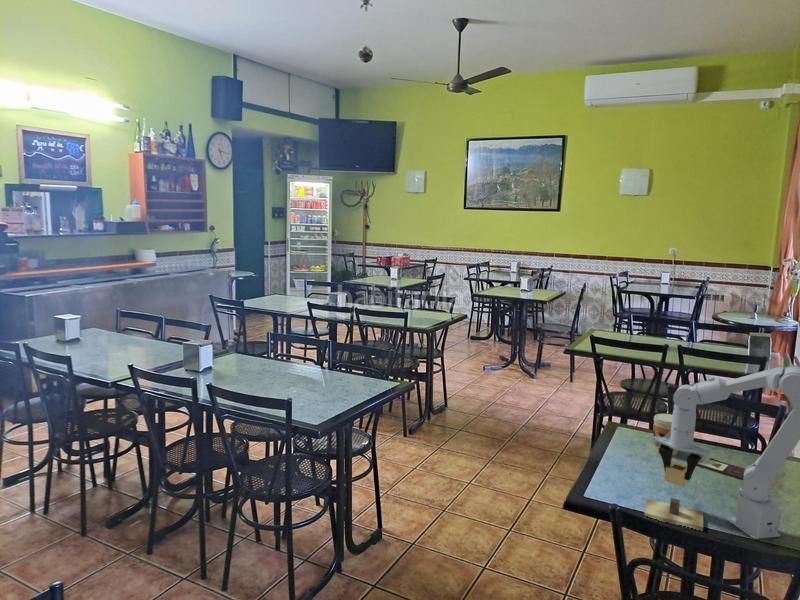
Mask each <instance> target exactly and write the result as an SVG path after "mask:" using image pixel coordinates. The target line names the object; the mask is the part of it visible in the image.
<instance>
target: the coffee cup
mask: <svg viewBox="0 0 800 600" xmlns="http://www.w3.org/2000/svg"><path fill="white" fill-rule="evenodd" d="M672 416H673V414H671V413H657V414H655V415H654V416H653V437H655V436H659V437H664V438H670V436H671V426H672ZM652 445H653V446H652V447H653V451H654V452H656V453H658V454H660V453H659V448H660V445H659V444H657V445H656V444H653V443H652ZM678 453H679V450H675V449H673V453H672V457H673V456H676V455H678Z"/></svg>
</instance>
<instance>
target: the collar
mask: <svg viewBox="0 0 800 600" xmlns="http://www.w3.org/2000/svg"><path fill="white" fill-rule="evenodd" d="M686 473H687V465H683V464H680V463H677V462H673V461H671V464H669V465H668V466H667V467H666V471H665V470H664V474H665V475H664V481H665V482H667V483H671V484H673V485H676V486H678V487H679V486H680V487H681V488H684V487H685V486H687V485H688V483H690V482H691V479H690V480H686Z"/></svg>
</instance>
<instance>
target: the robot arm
mask: <svg viewBox="0 0 800 600" xmlns="http://www.w3.org/2000/svg"><path fill="white" fill-rule="evenodd" d="M760 388H766V389H768V390H771V391H772V392H776V393H778V388H779V389H780V391H781V393H783V395H784V396H785V397H786V398H787V399H788V400H789V402H790V405H791V406H792V410H791V411H790V412H789V414H788V415H787V417H786V418H785V420H784V421H783V423H782V424H781V426H780V428H779V429H778V430H777V432H776V433H775V435H774V436H773V437H772V439H771V440H770V442H769V443H768V445H767V447H766V448H765V449H764V451H763V452H762V454H761V455H760V456H759V457H758V458H757V459H756V461H754V462H753V463H752V464H750V465H748V466H747V467H745V471H744V478H743V480H741V484H740V488H738V495H737V503H736V513H735V517H728V518H726V521H728V522H729V523H730V524H732V525H734V526H735V527H736V528H738V529H739V530H740V531H742V532H744V533H745V534H746V535H748V536H749V537H751V538H752V539H754V540H757V539H758V540H760V539H769V538H776V537H777V538H780V537H781V534H780V533H779V527H780V522H781V516H782V515H781V511H780V508H778V506H776V505H775V504H774V502H773V501H772V495H771V494H770V493H771V486H772V484H773V482H774V480H775V478H776V475H778V472H779V470H780V468H781V467H782V466H783V465H784V463H785V462H786V460H787V459H788V457H789V456H790V454H791V453H792V451H793V450H794V449H795V447H796V446H797V444H798V443H799V442H800V365H795V364H792V365H787V366H786V367H783V366H781V367H774V368H770V369H766V370H762V371H758V372H754V373H751V374H747V375H745V376H740V377H737V378H732V379H730V380H724V379H722V378H720V377H718V378H717V377H716V378H715V376H711V377H708V379H707V380H705V381H701V382H694V381H693V382H690V383H689V384H682V385H680V386H679V387H678V388H677V389H676V390H675V392H674V393H673V398H672V400H673V403H674V404H673V411H672V415H673V416H672V426H671V436H670V438H664V437H659V436H655V437H654V436H653V438H652V445H653V444H656V445H657V444H659V445H660V448H659V453H658V454H659V455H660V457H661V460H662V465H663V467H664V468H663V469H664V472H665V471H666V467H667V466H668V465H669V464H671V463H672V457H673V456H672V453H673V449H675V450H678V452H679V451H680V452H682V453H686V454H690V455H687V457H686V466H687V473H686V480H690V481H691V479H692V476H693V473H694V471H695V469H696V468H697V466H696V465H697V464H698V462H699V461H700V460H701V458H704V459H706V460H708V459H709V458H711V453H712V452H711V450H708V449H705V448H704V447H703V448H702V447H701V446H697V445H695V444H694V437H695V430H696V421H697V420H696V419H697V411H696V410H697V405H706V404H710V403H715V402H720V401H724V400H728V398H729V396H730V395H731V394H733V393H738V392H744V391H748V390H749V391H751V390H756V389H760Z"/></svg>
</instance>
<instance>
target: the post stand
mask: <svg viewBox="0 0 800 600" xmlns="http://www.w3.org/2000/svg"><path fill="white" fill-rule="evenodd" d="M680 501H681V500H680V499H677V498H673V497H671V498H670V503H667V502H664V501H663V502H662V501H659V500H654V499H650V498H647V499H646V503H645V508H644V514H643V516H644V515H645V516H648V517H650V518H653V519H652V520H654V519H657V520H656V521H658V520H659V522H663V523H666V522H668V523H667V524H671V525H674V524H675V525H674V526H679V525H682V526H681V527H683V526H686V527H685V528H687V527H689V528H688V529H691V528H693V529H692V530H695V529H696V530H695V531H699V530H700V531H699V532H703V531H704V511H701V510H696V509H694V508H693V509H692V508H689V507H685V506H680V505H681V504H680V503H681V502H680ZM650 518H649V519H650Z"/></svg>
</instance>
